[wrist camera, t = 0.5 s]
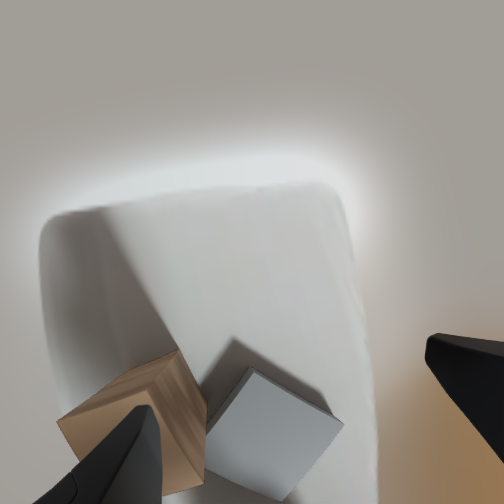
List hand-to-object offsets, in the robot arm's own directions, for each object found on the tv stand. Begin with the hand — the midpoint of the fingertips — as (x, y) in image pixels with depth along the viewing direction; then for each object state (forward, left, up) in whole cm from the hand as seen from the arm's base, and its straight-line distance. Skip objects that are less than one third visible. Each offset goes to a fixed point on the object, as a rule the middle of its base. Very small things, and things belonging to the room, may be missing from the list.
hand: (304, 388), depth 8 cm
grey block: (-6, -6, -17) cm, 19 cm away
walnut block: (-7, +3, -17) cm, 18 cm away
